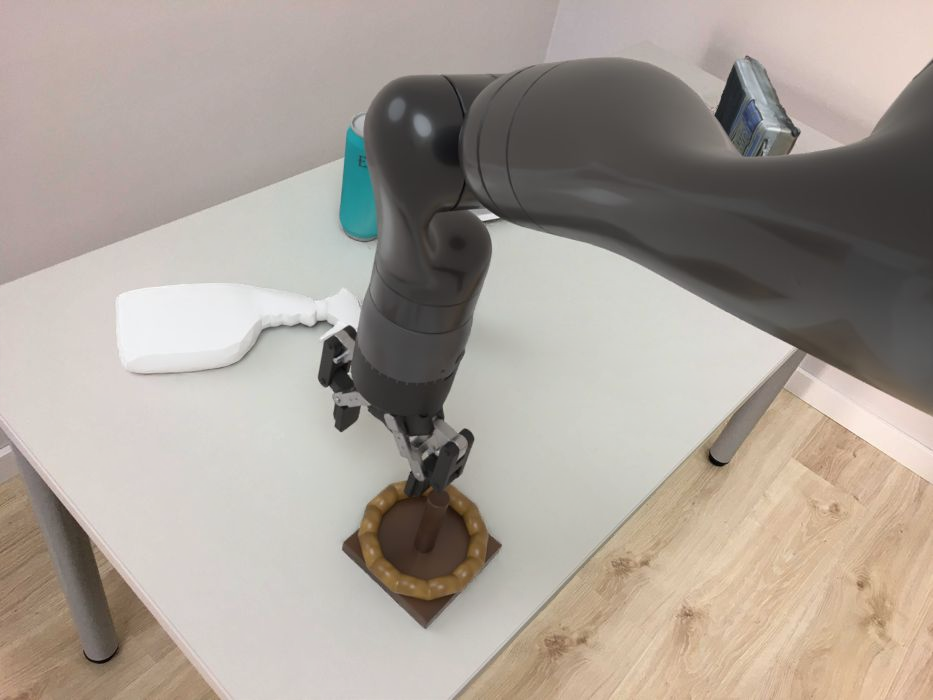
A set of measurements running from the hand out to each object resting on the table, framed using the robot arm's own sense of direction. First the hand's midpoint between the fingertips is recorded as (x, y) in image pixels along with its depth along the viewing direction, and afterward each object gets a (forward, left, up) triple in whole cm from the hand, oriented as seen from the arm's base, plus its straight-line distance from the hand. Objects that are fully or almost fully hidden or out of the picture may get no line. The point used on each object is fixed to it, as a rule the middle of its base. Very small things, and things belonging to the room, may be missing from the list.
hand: (379, 456), depth 67 cm
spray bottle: (+23, -5, -8) cm, 25 cm away
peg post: (-7, 0, -8) cm, 10 cm away
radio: (+3, -79, -8) cm, 79 cm away
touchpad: (+20, -44, -8) cm, 49 cm away
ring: (-6, 0, -5) cm, 8 cm away
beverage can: (+27, -26, -8) cm, 38 cm away
